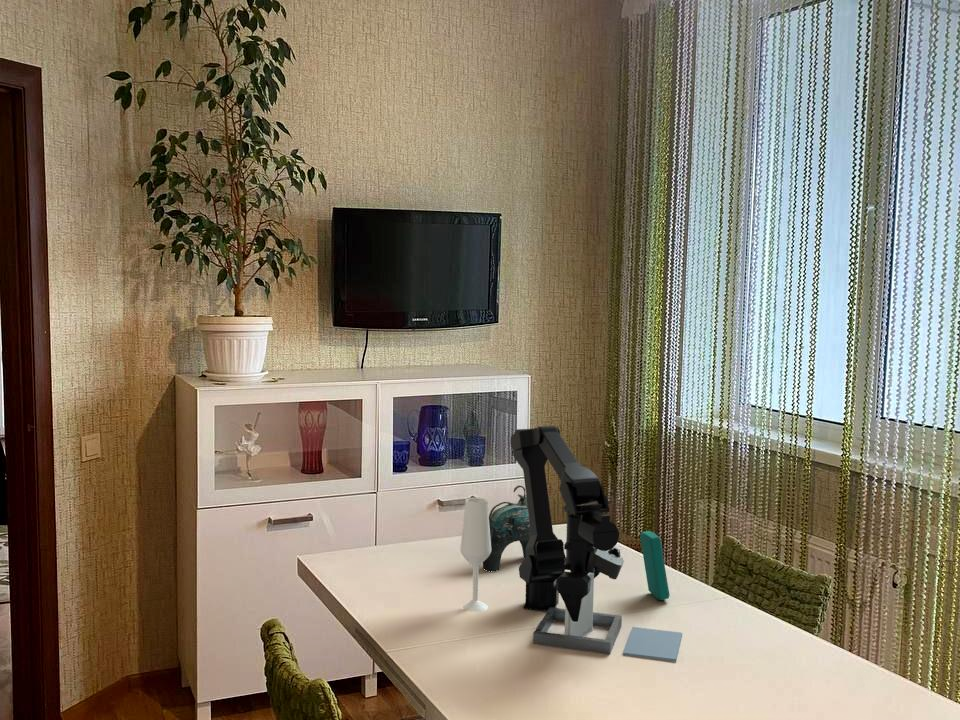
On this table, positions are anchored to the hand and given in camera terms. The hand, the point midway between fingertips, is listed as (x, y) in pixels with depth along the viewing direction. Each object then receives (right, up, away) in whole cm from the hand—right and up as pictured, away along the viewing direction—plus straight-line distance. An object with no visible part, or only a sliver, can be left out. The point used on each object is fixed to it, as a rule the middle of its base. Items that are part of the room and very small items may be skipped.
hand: (579, 613), depth 190 cm
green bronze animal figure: (-11, -1, +46) cm, 48 cm away
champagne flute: (-21, -3, +16) cm, 26 cm away
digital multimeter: (+19, -3, +24) cm, 31 cm away
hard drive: (0, -5, +1) cm, 5 cm away
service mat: (+14, -5, -4) cm, 16 cm away
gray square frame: (0, -5, +1) cm, 5 cm away
